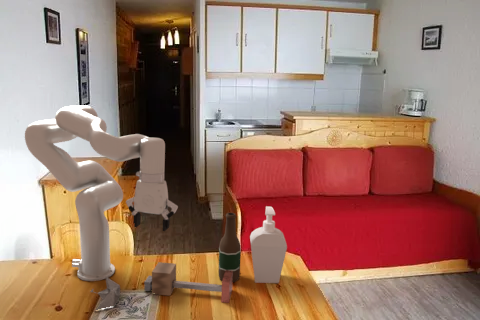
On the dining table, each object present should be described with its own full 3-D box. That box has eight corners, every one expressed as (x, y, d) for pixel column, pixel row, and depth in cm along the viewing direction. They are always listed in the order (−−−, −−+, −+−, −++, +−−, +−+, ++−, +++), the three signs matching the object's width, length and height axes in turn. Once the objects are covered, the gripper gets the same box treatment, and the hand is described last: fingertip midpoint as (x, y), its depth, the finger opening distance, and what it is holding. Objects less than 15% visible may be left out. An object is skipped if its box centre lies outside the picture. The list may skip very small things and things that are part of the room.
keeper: (152, 293, 129) (151, 272, 128) (158, 283, 136) (158, 262, 134) (170, 295, 129) (170, 273, 127) (175, 284, 135) (176, 263, 134)
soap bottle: (281, 270, 149) (285, 204, 143) (284, 284, 139) (289, 214, 133) (248, 269, 148) (251, 203, 143) (249, 283, 138) (252, 213, 133)
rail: (142, 294, 129) (142, 274, 128) (150, 282, 137) (150, 263, 135) (228, 302, 126) (229, 282, 125) (232, 289, 134) (232, 270, 133)
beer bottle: (237, 284, 138) (239, 218, 133) (215, 281, 139) (217, 216, 134) (241, 274, 145) (244, 211, 140) (221, 271, 146) (222, 209, 142)
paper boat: (115, 311, 117) (84, 305, 116) (113, 320, 122) (82, 314, 120) (126, 275, 126) (96, 268, 124) (123, 284, 130) (94, 278, 129)
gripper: (121, 176, 124) (121, 228, 127) (174, 183, 121) (172, 235, 124) (132, 171, 131) (131, 220, 135) (182, 177, 128) (180, 227, 132)
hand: (151, 227), depth 130 cm, fingers open, 9 cm apart
